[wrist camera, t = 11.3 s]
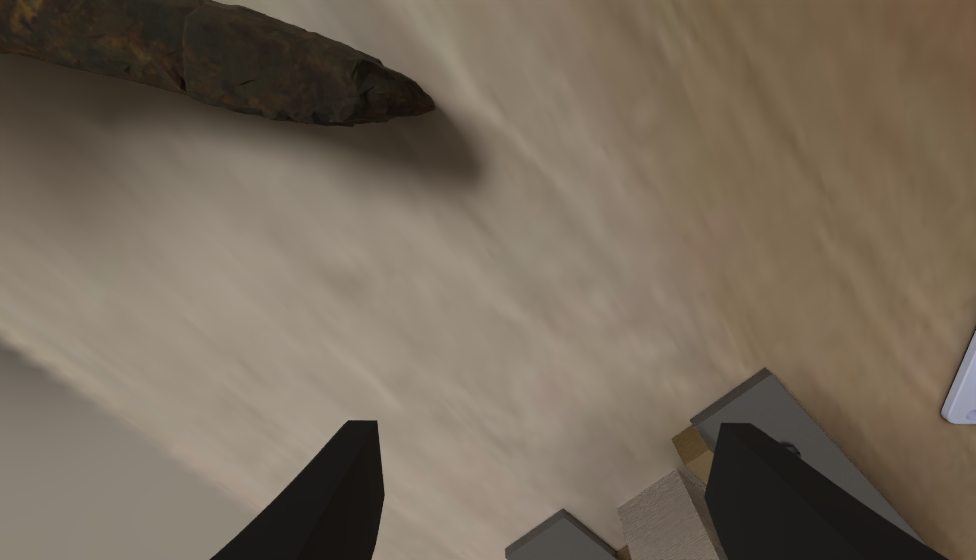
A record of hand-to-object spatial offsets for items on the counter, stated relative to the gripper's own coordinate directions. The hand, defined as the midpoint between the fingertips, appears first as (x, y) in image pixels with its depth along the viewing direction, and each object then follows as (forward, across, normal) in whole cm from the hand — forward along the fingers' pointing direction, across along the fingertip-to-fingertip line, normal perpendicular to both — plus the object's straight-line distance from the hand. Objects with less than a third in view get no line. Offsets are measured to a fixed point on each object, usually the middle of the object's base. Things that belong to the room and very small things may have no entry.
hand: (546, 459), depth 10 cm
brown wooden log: (+10, +12, -9) cm, 18 cm away
